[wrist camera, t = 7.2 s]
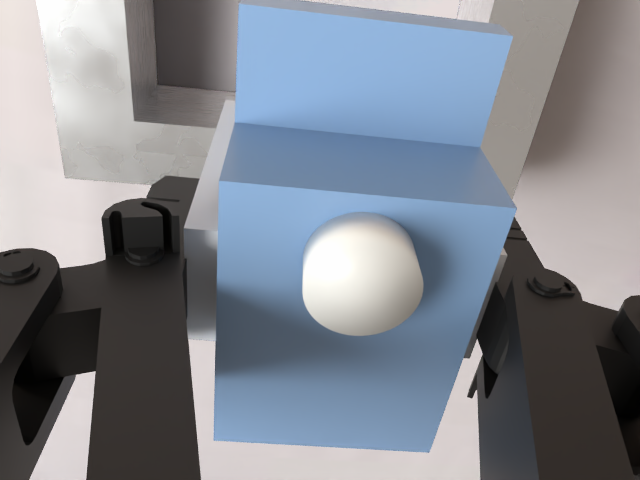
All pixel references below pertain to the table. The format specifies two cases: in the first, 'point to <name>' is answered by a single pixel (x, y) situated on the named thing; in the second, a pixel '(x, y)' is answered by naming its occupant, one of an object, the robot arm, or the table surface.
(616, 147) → the table surface
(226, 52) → the table surface
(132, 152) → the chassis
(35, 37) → the table surface
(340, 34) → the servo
